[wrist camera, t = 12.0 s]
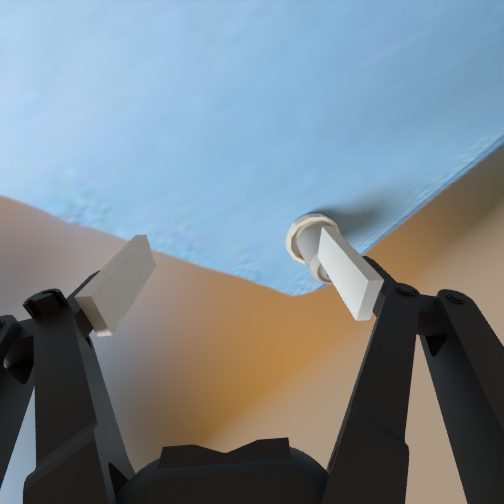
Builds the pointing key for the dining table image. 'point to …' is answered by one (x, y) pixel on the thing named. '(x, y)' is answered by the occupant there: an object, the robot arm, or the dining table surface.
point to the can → (312, 251)
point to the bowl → (302, 224)
